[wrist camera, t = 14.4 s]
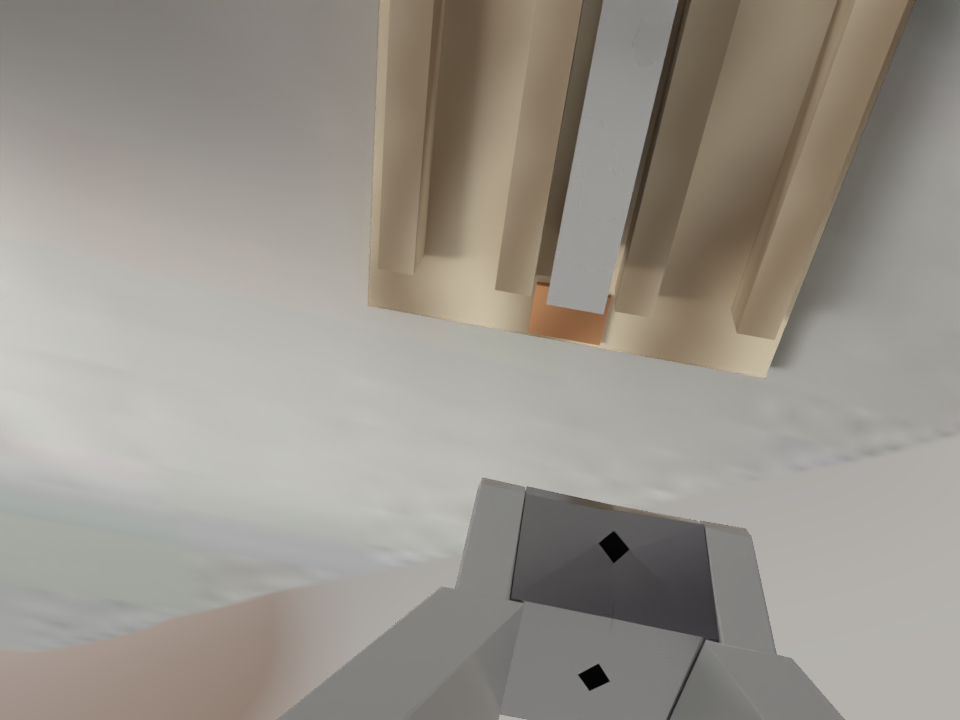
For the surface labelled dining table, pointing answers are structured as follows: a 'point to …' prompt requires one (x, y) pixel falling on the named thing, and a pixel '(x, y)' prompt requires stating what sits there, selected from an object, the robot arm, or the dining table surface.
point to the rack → (660, 178)
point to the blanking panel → (609, 148)
